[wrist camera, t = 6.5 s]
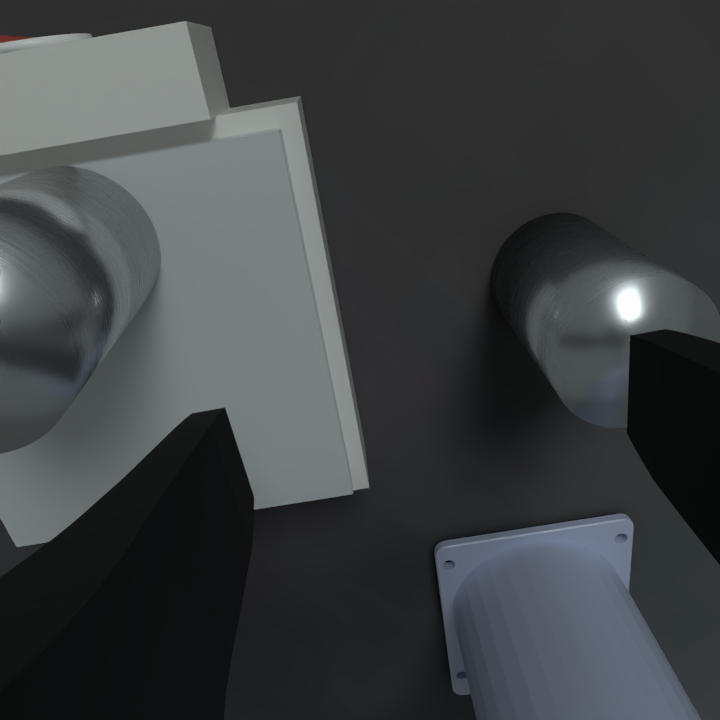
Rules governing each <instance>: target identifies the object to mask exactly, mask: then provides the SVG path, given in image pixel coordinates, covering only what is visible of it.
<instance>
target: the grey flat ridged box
mask: <svg viewBox="0 0 720 720" xmlns="http://www.w3.org/2000/svg"><path fill="white" fill-rule="evenodd" d="M52 166H73V167H80V168H84V169H88V170H91V171H94V172H96V173H99V174H102V175H104V176H105V177H107V178H109V179H111V180H113V181H114V182H116V183H117V184H119V185H120V186H122V187H123V188H124V189H125V190H127V191H128V192H129V193H130V194H131V195H132V196H133V197H134V198H135V199H136V200H137V201H138V202H139V203H140V205H141V206H142V207H143V209H144V210H145V211H146V213H147V214H148V216H149V218H150V220H151V221H152V223H153V226H154V228H155V230H156V233H157V236H158V240H159V244H160V251H161V265H160V272H159V276H158V279H157V282H156V284H155V286H154V289H153V290H152V292H151V293H150V295H149V296H148V298H147V299H146V301H145V302H144V303H143V305H142V306H141V307H140V309H139V310H138V312H137V313H136V314H135V316H134V317H133V319H132V320H131V321H130V323H129V324H128V326H127V327H126V328H125V330H124V331H123V333H122V334H121V335H120V337H119V338H118V339H117V341H116V342H115V344H114V345H113V346H112V348H111V349H110V351H109V352H108V353H107V355H106V356H105V358H104V359H103V360H102V362H101V363H100V365H99V366H98V367H97V369H96V370H95V371H94V373H93V374H92V376H91V377H90V378H89V380H88V381H87V383H86V384H85V385H84V387H83V388H82V390H81V391H80V392H79V394H78V395H77V397H76V398H75V399H74V401H73V402H72V403H71V405H70V406H69V408H68V409H67V410H66V412H65V413H64V415H63V416H62V417H61V419H60V420H59V422H58V423H57V424H56V425H55V426H54V427H53V428H52V429H51V430H50V431H49V432H48V433H46V434H45V435H44V436H43V437H41V438H40V439H38V440H37V441H35V442H33V443H31V444H30V445H27V446H25V447H22V448H20V449H17V450H14V451H10V452H6V453H2V454H0V518H1V520H2V522H3V524H4V525H5V527H6V529H7V531H8V533H9V534H10V536H11V538H12V540H13V541H14V543H15V545H16V547H21V546H27V545H33V544H40V543H46V542H49V541H51V540H52V539H53V538H54V537H56V536H57V535H58V534H59V533H61V532H62V531H63V530H65V529H66V528H67V527H68V526H69V525H71V524H72V523H73V522H74V521H75V520H77V519H78V518H79V517H80V516H81V515H82V514H83V513H85V512H86V511H87V510H88V509H89V508H90V507H91V506H92V505H94V504H95V503H96V502H97V501H98V500H99V499H100V498H101V497H103V496H104V495H105V494H106V493H107V492H108V491H109V490H110V489H112V488H113V487H114V486H115V485H116V484H117V483H118V482H119V481H121V480H122V479H123V478H124V477H125V476H126V475H127V474H128V473H129V472H130V471H131V470H132V469H133V468H134V467H135V466H136V465H137V464H138V463H139V462H140V461H141V460H142V459H143V458H144V457H145V456H146V455H148V454H149V453H150V452H151V451H152V450H153V449H154V448H155V447H156V446H157V445H158V444H159V443H160V442H161V441H162V440H163V439H164V438H165V437H166V436H167V435H168V434H169V433H170V432H171V431H172V430H173V429H174V428H175V427H176V426H177V425H179V424H180V423H181V422H182V421H183V420H184V419H185V418H187V417H188V416H189V415H190V414H192V413H197V412H202V411H208V410H214V409H219V408H225V409H226V412H227V415H228V418H229V421H230V424H231V427H232V430H233V433H234V437H235V440H236V443H237V446H238V449H239V452H240V455H241V458H242V461H243V464H244V467H245V470H246V473H247V477H248V480H249V483H250V486H251V489H252V492H253V495H254V510H255V509H262V508H268V507H274V506H281V505H287V504H293V503H300V502H306V501H312V500H319V499H325V498H331V497H338V496H344V495H351V494H353V490H358V489H365V488H369V480H368V471H367V461H366V451H365V444H364V438H363V433H362V427H361V422H360V416H359V411H358V406H357V400H356V395H355V389H354V384H353V378H352V373H351V368H350V362H349V357H348V351H347V346H346V340H345V335H344V330H343V324H342V319H341V313H340V308H339V302H338V297H337V292H336V286H335V281H334V275H333V270H332V264H331V259H330V254H329V248H328V243H327V237H326V232H325V226H324V221H323V216H322V210H321V205H320V199H319V194H318V188H317V183H316V178H315V172H314V167H313V161H312V156H311V150H310V145H309V140H308V134H307V129H306V123H305V118H304V112H303V107H302V102H301V96H298V97H292V98H286V99H280V100H275V101H269V102H263V103H257V104H252V105H246V106H240V107H234V108H230V106H229V102H228V98H227V94H226V90H225V85H224V81H223V77H222V73H221V68H220V64H219V60H218V56H217V51H216V47H215V43H214V39H213V34H212V30H211V27H208V26H203V25H199V24H195V23H191V22H187V21H184V22H179V23H173V24H167V25H162V26H156V27H150V28H145V29H139V30H133V31H128V32H122V33H116V34H111V35H105V36H100V37H94V38H92V35H91V34H85V33H83V34H64V35H54V36H45V37H37V38H34V37H17V36H1V35H0V184H3V183H5V182H8V181H10V180H13V179H15V178H18V177H20V176H23V175H25V174H27V173H30V172H32V171H35V170H38V169H42V168H45V167H52Z"/></svg>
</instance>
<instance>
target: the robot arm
mask: <svg viewBox="0 0 720 720" xmlns="http://www.w3.org/2000/svg"><path fill="white" fill-rule="evenodd" d="M627 434H628V436H629V438H630V440H631V441H632V443H633V445H634V447H635V449H636V451H637V452H638V454H639V456H640V458H641V460H642V461H643V463H644V465H645V466H646V468H647V470H648V472H649V473H650V475H651V477H652V478H653V480H654V481H655V482H656V484H657V485H658V486H659V488H660V489H661V490H662V492H663V493H664V494H665V496H666V497H667V498H668V499H669V501H670V502H671V503H672V505H673V506H674V507H675V509H676V510H677V511H678V512H679V514H680V515H681V516H682V518H683V519H684V520H685V521H686V523H687V524H688V525H689V526H690V528H691V529H692V530H693V532H694V533H695V534H696V535H697V537H698V538H699V539H700V540H701V542H702V543H703V544H704V546H705V547H706V548H707V549H708V551H709V552H710V553H711V554H712V556H713V557H714V558H715V560H716V561H717V562H718V563H719V565H720V343H718V342H714V341H711V340H708V339H704V338H701V337H697V336H694V335H690V334H686V333H682V332H678V331H673V330H668V329H663V330H657V331H652V332H646V333H641V334H635V335H630V353H629V383H628V413H627ZM253 518H254V495H253V492H252V489H251V486H250V483H249V480H248V477H247V473H246V470H245V467H244V464H243V461H242V458H241V455H240V452H239V449H238V446H237V443H236V440H235V437H234V433H233V430H232V427H231V424H230V421H229V418H228V415H227V412H226V409H225V408H219V409H214V410H208V411H202V412H197V413H192V414H190V415H189V416H188V417H187V418H185V419H184V420H183V421H182V422H181V423H180V424H179V425H177V426H176V427H175V428H174V429H173V430H172V431H171V432H170V433H169V434H168V435H167V436H166V437H165V438H164V439H163V440H162V441H161V442H160V443H159V444H158V445H157V446H156V447H155V448H154V449H153V450H152V451H151V452H150V453H149V454H148V455H146V456H145V457H144V458H143V459H142V460H141V461H140V462H139V463H138V464H137V465H136V466H135V467H134V468H133V469H132V470H131V471H130V472H129V473H128V474H127V475H126V476H125V477H124V478H123V479H122V480H121V481H119V482H118V483H117V484H116V485H115V486H114V487H113V488H112V489H110V490H109V491H108V492H107V493H106V494H105V495H104V496H103V497H101V498H100V499H99V500H98V501H97V502H96V503H95V504H94V505H92V506H91V507H90V508H89V509H88V510H87V511H86V512H85V513H83V514H82V515H81V516H80V517H79V518H78V519H77V520H75V521H74V522H73V523H72V524H71V525H69V526H68V527H67V528H66V529H65V530H63V531H62V532H61V533H59V534H58V535H57V536H56V537H54V538H53V539H52V540H51V541H49V542H48V543H47V544H45V545H44V546H43V547H41V548H40V549H39V550H37V551H36V552H35V553H33V554H32V555H31V556H29V557H28V558H27V559H25V560H24V561H23V562H21V563H20V564H19V565H17V566H16V567H14V568H13V569H12V570H10V571H9V572H7V573H6V574H4V575H3V576H1V577H0V720H224V708H225V697H226V688H227V682H228V675H229V668H230V662H231V657H232V651H233V646H234V641H235V636H236V630H237V625H238V620H239V614H240V609H241V604H242V599H243V594H244V588H245V583H246V577H247V572H248V566H249V561H250V555H251V549H252V537H253ZM633 528H634V526H633V522H632V521H631V519H630V518H629V517H628V516H627V515H625V514H614V515H607V516H601V517H594V518H588V519H581V520H575V521H568V522H562V523H556V524H549V525H543V526H536V527H530V528H523V529H517V530H510V531H504V532H498V533H491V534H485V535H478V536H472V537H465V538H459V539H452V540H446V541H442V542H440V543H438V544H437V545H436V547H435V548H434V555H435V562H436V570H437V578H438V585H439V593H440V600H441V608H442V615H443V623H444V630H445V638H446V645H447V653H448V660H449V668H450V676H451V683H452V688H453V691H454V692H455V693H456V694H458V695H468V694H471V698H472V702H473V707H474V711H475V715H476V720H701V719H700V717H699V715H698V714H697V712H696V710H695V708H694V706H693V705H692V703H691V701H690V699H689V698H688V696H687V694H686V692H685V691H684V689H683V687H682V685H681V684H680V682H679V680H678V678H677V676H676V675H675V673H674V671H673V669H672V668H671V666H670V664H669V662H668V661H667V659H666V657H665V655H664V654H663V652H662V650H661V648H660V646H659V645H658V643H657V641H656V639H655V638H654V636H653V634H652V632H651V631H650V629H649V627H648V625H647V624H646V622H645V620H644V618H643V616H642V615H641V613H640V611H639V609H638V608H637V606H636V604H635V602H634V601H633V599H632V597H631V595H630V594H629V583H630V569H631V555H632V542H633ZM619 534H621V535H619ZM617 535H619V536H617ZM448 560H452V561H450V562H448V563H447V562H445V561H448Z"/></svg>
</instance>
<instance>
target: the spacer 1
mask: <svg viewBox="0 0 720 720" xmlns="http://www.w3.org/2000/svg"><path fill="white" fill-rule="evenodd" d="M160 265H161V251H160V244H159V240H158V236H157V233H156V230H155V228H154V226H153V223H152V221H151V220H150V218H149V216H148V214H147V213H146V211H145V210H144V209H143V207H142V206H141V205H140V203H139V202H138V201H137V200H136V199H135V198H134V197H133V196H132V195H131V194H130V193H129V192H128V191H127V190H125V189H124V188H123V187H122V186H120V185H119V184H117V183H116V182H114V181H113V180H111V179H109V178H107V177H105V176H104V175H102V174H99V173H96V172H94V171H91V170H88V169H84V168H80V167H73V166H52V167H45V168H42V169H38V170H35V171H32V172H30V173H27V174H25V175H23V176H20V177H18V178H15V179H13V180H10V181H8V182H5V183H3V184H0V454H2V453H6V452H10V451H14V450H17V449H20V448H22V447H25V446H27V445H30V444H31V443H33V442H35V441H37V440H38V439H40V438H41V437H43V436H44V435H45V434H46V433H48V432H49V431H50V430H51V429H52V428H53V427H54V426H55V425H56V424H57V423H58V422H59V420H60V419H61V417H62V416H63V415H64V413H65V412H66V410H67V409H68V408H69V406H70V405H71V403H72V402H73V401H74V399H75V398H76V397H77V395H78V394H79V392H80V391H81V390H82V388H83V387H84V385H85V384H86V383H87V381H88V380H89V378H90V377H91V376H92V374H93V373H94V371H95V370H96V369H97V367H98V366H99V365H100V363H101V362H102V360H103V359H104V358H105V356H106V355H107V353H108V352H109V351H110V349H111V348H112V346H113V345H114V344H115V342H116V341H117V339H118V338H119V337H120V335H121V334H122V333H123V331H124V330H125V328H126V327H127V326H128V324H129V323H130V321H131V320H132V319H133V317H134V316H135V314H136V313H137V312H138V310H139V309H140V307H141V306H142V305H143V303H144V302H145V301H146V299H147V298H148V296H149V295H150V293H151V292H152V290H153V289H154V286H155V284H156V282H157V279H158V276H159V272H160Z"/></svg>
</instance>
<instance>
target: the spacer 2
mask: <svg viewBox="0 0 720 720" xmlns="http://www.w3.org/2000/svg"><path fill="white" fill-rule="evenodd" d="M491 289H492V294H493V298H494V300H495V303H496V305H497V306H498V308H499V310H500V311H501V313H502V314H503V316H504V317H505V318H506V320H507V321H508V323H509V324H510V326H511V327H512V329H513V330H514V332H515V333H516V334H517V336H518V337H519V339H520V340H521V342H522V343H523V345H524V346H525V348H526V349H527V351H528V352H529V353H530V355H531V356H532V358H533V359H534V361H535V362H536V364H537V365H538V367H539V368H540V369H541V371H542V372H543V374H544V375H545V377H546V378H547V380H548V381H549V383H550V384H551V386H552V387H553V388H554V390H555V391H556V393H557V394H558V396H559V397H560V399H561V400H562V402H563V403H564V404H565V406H566V407H567V408H568V409H569V410H570V411H571V412H572V413H574V414H575V415H576V416H577V417H579V418H581V419H583V420H584V421H586V422H589V423H591V424H594V425H598V426H602V427H609V428H627V413H628V383H629V353H630V335H635V334H641V333H646V332H652V331H657V330H663V329H668V330H673V331H678V332H682V333H686V334H690V335H694V336H697V337H701V338H704V339H708V340H711V341H714V342H718V343H720V316H719V313H718V311H717V309H716V306H715V305H714V303H713V302H712V300H711V299H710V298H709V297H708V296H707V295H706V294H705V293H704V292H703V291H702V290H700V289H699V288H698V287H696V286H695V285H693V284H692V283H690V282H688V281H687V280H685V279H684V278H682V277H680V276H679V275H677V274H676V273H674V272H672V271H671V270H669V269H667V268H666V267H664V266H663V265H661V264H659V263H658V262H656V261H655V260H653V259H651V258H650V257H648V256H647V255H645V254H643V253H642V252H640V251H639V250H637V249H635V248H634V247H632V246H631V245H629V244H627V243H626V242H624V241H623V240H621V239H619V238H618V237H616V236H615V235H613V234H611V233H610V232H608V231H607V230H605V229H603V228H602V227H600V226H598V225H597V224H595V223H594V222H592V221H590V220H589V219H587V218H585V217H582V216H579V215H576V214H570V213H553V214H548V215H543V216H541V217H538V218H535V219H533V220H531V221H529V222H527V223H526V224H524V225H523V226H521V227H520V228H518V229H517V230H516V231H515V232H514V233H512V235H511V236H510V237H509V238H508V239H507V240H506V241H505V243H504V244H503V245H502V247H501V249H500V250H499V252H498V254H497V256H496V258H495V261H494V264H493V268H492V273H491Z"/></svg>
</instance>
